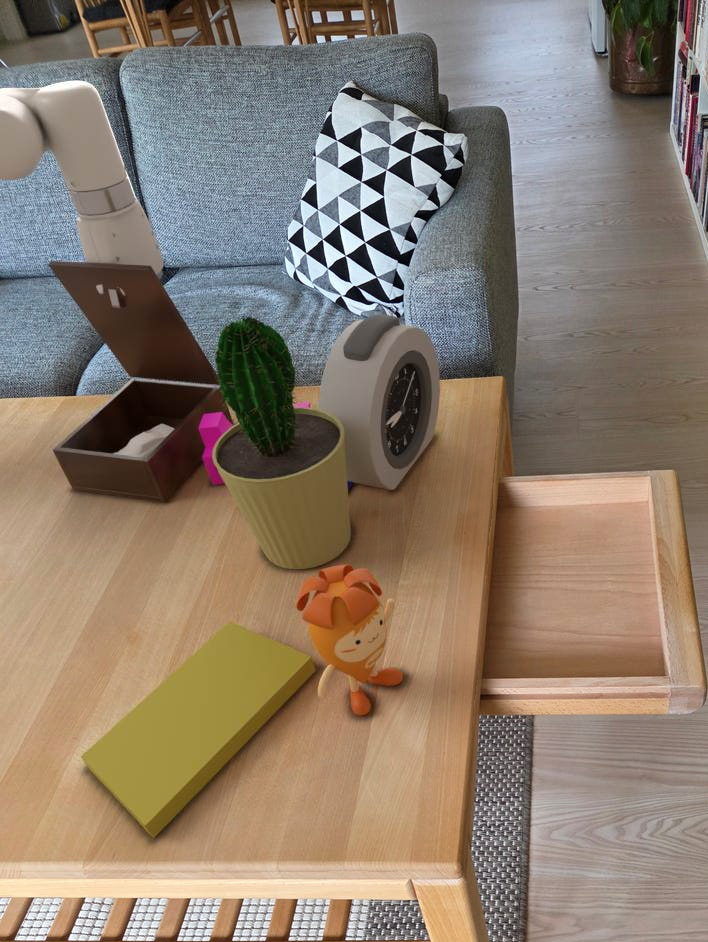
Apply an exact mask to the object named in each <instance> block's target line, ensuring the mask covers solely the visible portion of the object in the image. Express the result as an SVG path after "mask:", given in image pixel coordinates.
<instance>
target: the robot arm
mask: <svg viewBox="0 0 708 942" xmlns="http://www.w3.org/2000/svg"><path fill="white" fill-rule="evenodd" d="M100 95H101V94H100V93H99V92H98V89H96V87H95V85H93V84H91V83H90V82H88V81H84V80H68V81H67V80H66V81H60V82H56V83H52V84H48V85H45V86H44V87H3V88H0V180H4V181H19V180H22V179H25V178H27V177H29V176H30V175H32V174H33V173H34V172H35V170H36V169H37V168H38V165H39V163H40V160H41V158H42V156H43V155H44V154H45V153H46V152H51V153H52V154H53V155H54V158H55V160H56V162H57V165H58V168H59V170H60V172H61V175H62V177H63V180H64V182H65V184H66V187H67V189H68V192H69V195H70V198H71V200H72V203H73V205H74V207H75V210H76V213H77V215H78V217H77V218H75V220H76V228H77V232H78V236H79V241H80V244H81V248H82V251H83V255H84V258H85V260H86V263H105V264H126V265H147V266H151V267H152V269H153V270H154V272H155V273H156V275H157V277H158V278H159V280H160V281H161V278H162V277H163V275H164V272H163V269H164V265H165V264H164V259H163V255H162V252H161V249H160V246H159V243H158V241H157V238H156V235H155V233H154V230H153V228H152V225H151V224H150V221H149V219H148V217H147V215H146V213H145V211H144V208H143V206H142V204H141V203H140V201H139V199H138V197H137V196H136V194H135V191H134V189H133V186H132V183H131V180H130V176H129V175H128V172H127V169H126V166H125V163H124V160H123V157H122V155H121V152H120V149H119V145H118V143H117V140H116V137H115V134H114V132H113V129H112V126H111V123H110V120H109V117H108V114H107V112H106V109H105V106H104V102H103V100H102V98H101V96H100ZM96 288H97V290H98V292H99V293H100V294H104V293H105V292H104V288H103V285H97V286H96ZM117 288H119V287H117ZM108 290H109V295H110V299H111V304H112V306H113V307H114V308H124V307H127V306H126V304H125V303H124V301H123V300H122V298H121V297H120V295H119V294H118V293H117V291H116V290H111V289H108ZM120 290H121V292H122V294H123V295H124V296H125V293H124V292H123V290H122V289H121V288H120Z"/></svg>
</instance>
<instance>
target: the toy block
mask: <svg viewBox="0 0 708 942" xmlns="http://www.w3.org/2000/svg"><path fill="white" fill-rule="evenodd" d="M297 403H298V404H296V403H294V405H293V407H310V408H312V407H311V404H310V403H311V402H310V401H307V402H303V403H302V402H297ZM232 426H233V425H232V424H231V423H230V422H229V421H228V420H227V419H226V417H225V416H224V414H223V412H218V413H209V414H204V415H203V417H202V420H201V423H200V425H199V428H198V429H199V432H200V434H201V437H202V440H203V442H204V445H205V447H206V448H205V450H204V453H203V456H202V459H203V461H202V462H203V464H204V466H205V469H206V471H207V474H208V477H209V479H210V481H211V484H212V485H223V484H225V482H224V481H223V479H222V477H221V475H220V474H219V472H218V469H217V467H216V466H215V464H214V462H213V458H212V453H213V448H214V446H215V444H216V442H217V441H218V439H219V438H220V437H221V436H222V434H224V433H225V432H226V431H227V430H228V429H229V428H231V427H232Z"/></svg>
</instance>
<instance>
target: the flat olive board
mask: <svg viewBox="0 0 708 942" xmlns="http://www.w3.org/2000/svg"><path fill="white" fill-rule="evenodd" d="M316 671H317V669H316V667H315V664H314V660H313V658H312V656H310V655H308V654H306V653H303V652H302V651H299V650H297V649H295V648H292V647H290V646H288V645H286V644H284V643H281V642H279V641H277V640H274V639H272V638H270V637H268V636H265V635H263V634H260V633H258V632H256V631H254V630H252V629H250V628H247V627H245V626H243V625H240V624H238V623H235V622H233V621H231V620H229V621H228V622H227V623H226V624H225V625H224V626H223V627H221V629H220V630H218V631H217V632H216V633H215V634H214V635H213V636H212V637H211V638H209V639H208V640H207V641H206V642H205V643H204V644H203V645H202V646H201V647H200V648H198V649H197V650H196V651H195V652H194V653H193V654H192V655H190V657H188V659H187V660H186V661H184V662H183V663H182V664H181V665H180V666H179V667H178V668H177V669H175V670H174V671H173V672H172V673H171V674H170V675H169V676H168V677H167V678H165V680H163V681H162V682H161V683H160V684H159V685H158V686H156V687H155V689H153V690H152V691H151V692H150V693H149V694H147V696H146V697H145V698H143V699H142V700H141V701H140V702H139V703H138V704H137V705H136V706H135V707H134V708H133V709H131V710H130V711H129V712H128V713H127V714H126V715H125V716H124V717H123V718H122V719H120V720H119V721H118V722H117V723H116V724H115V725H114V726H113V727H111V729H110V730H108V731H107V732H106V733H105V734H104V735H103V736H102V737H100V739H98V740H97V741H96V742H95V743H94V744H93V745H92V746H91V747H89V748H88V749H87V750H86V751H85V752H84V753H82V755H80V758H81V759H82V761H83V762H84V764H85V765H86V767H87V768H88V769H89V770H90V772H91V773H92V774H93V775H94V776H95V777H96V778H97V779H98V780H99V782H100V783H101V784H102V785H103V786H104V787H105V788H106V789H107V790H108V791H109V792H110V793H111V795H112V796H113V797H115V799H116V800H117V801H118V802H119V803H120V804H121V805H122V806H123V808H124V809H126V810H127V812H128V813H129V814H130V815H131V816H132V817H133V818H134V820H136V822H138V823H139V825H140V826H141V827H142V828H143V829H144V830H145V831H146V832H147V833H148V834H149V835H150V836H151V837H152V839H155V838H156V836H157V835H159V834H160V832H161V831H162V830H163V829H164V828H166V826H167V825H168V824H169V823H170V822H171V821H172V820H174V818H175V817H176V816H177V815H178V814H179V813H180V812H181V811H182V810H183V809H184V808H185V807H186V806H187V804H189V802H191V801H192V799H193V798H195V796H196V795H198V793H199V792H200V791H201V790H202V789H203V788H204V787H205V786H206V785H207V784H208V783H209V782H210V781H211V780H212V779H213V778H214V777H215V776H216V775H217V773H218V772H219V771H221V769H223V767H224V766H225V765H226V764H228V762H229V761H230V760H231V759H232V758H233V757H234V756H235V755H236V754H237V753H238V752H239V751H240V750H241V749H242V748H243V747H244V745H246V744H247V743H248V741H249V740H251V738H252V737H253V736H255V734H256V733H257V732H259V730H260V729H261V728H262V727H263V726H264V725H265V724H266V723H267V722H268V721H269V720H270V719H271V717H273V715H274V714H276V712H277V711H279V709H280V708H281V707H282V706H284V705H285V703H286V702H287V701H288V700H289V699H290V698H291V697H292V696H293V695H294V694H295V693H296V692H297V691H298V690H299V689H300V688H301V686H303V684H304V683H306V682H307V681H308V679H309V678H310V677H311V676H312V675H313V674H314V673H315V672H316Z"/></svg>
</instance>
